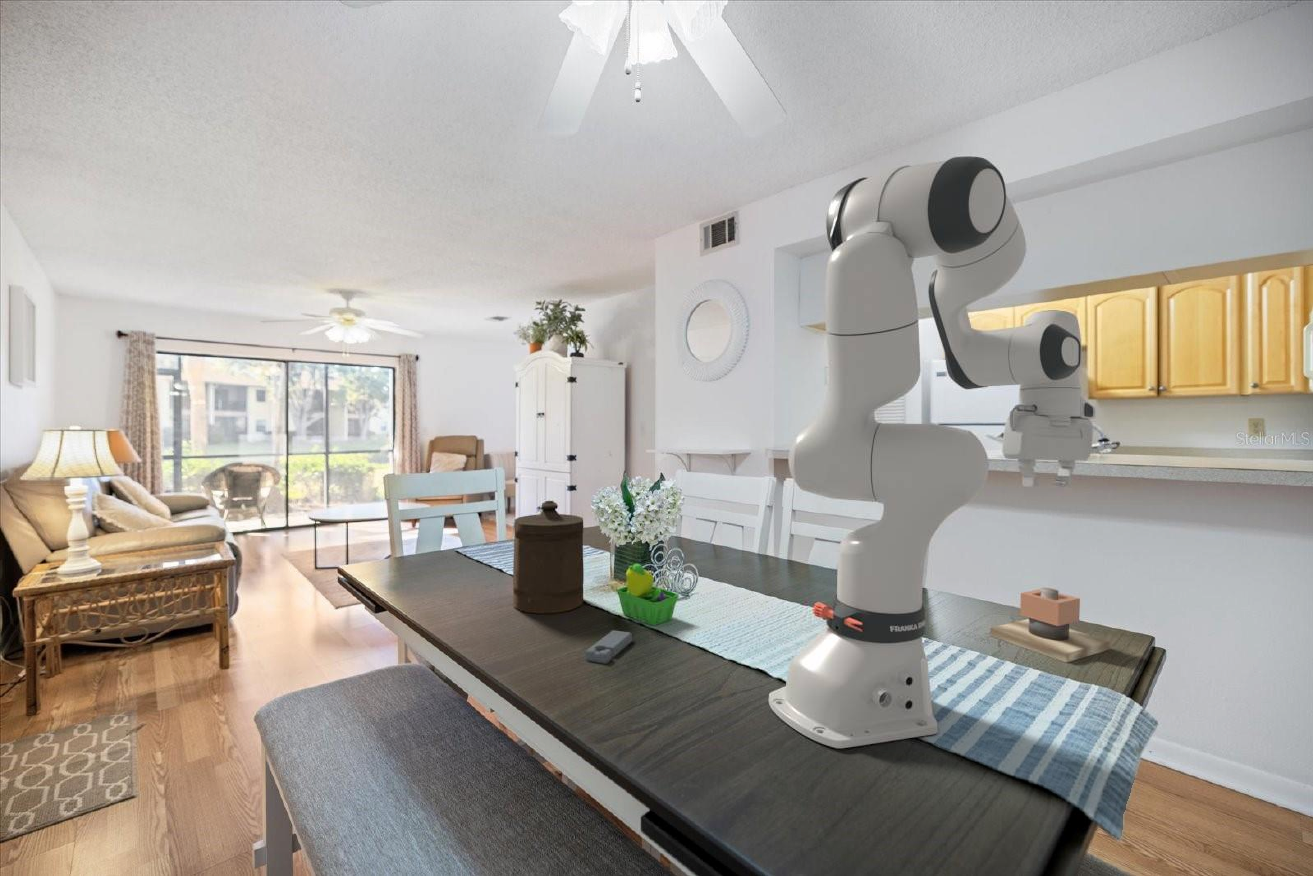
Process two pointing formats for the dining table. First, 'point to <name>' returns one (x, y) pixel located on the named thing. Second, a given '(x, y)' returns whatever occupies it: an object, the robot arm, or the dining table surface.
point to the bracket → (608, 646)
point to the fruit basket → (645, 597)
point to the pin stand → (1050, 637)
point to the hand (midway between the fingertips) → (1046, 486)
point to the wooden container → (548, 561)
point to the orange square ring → (1050, 608)
